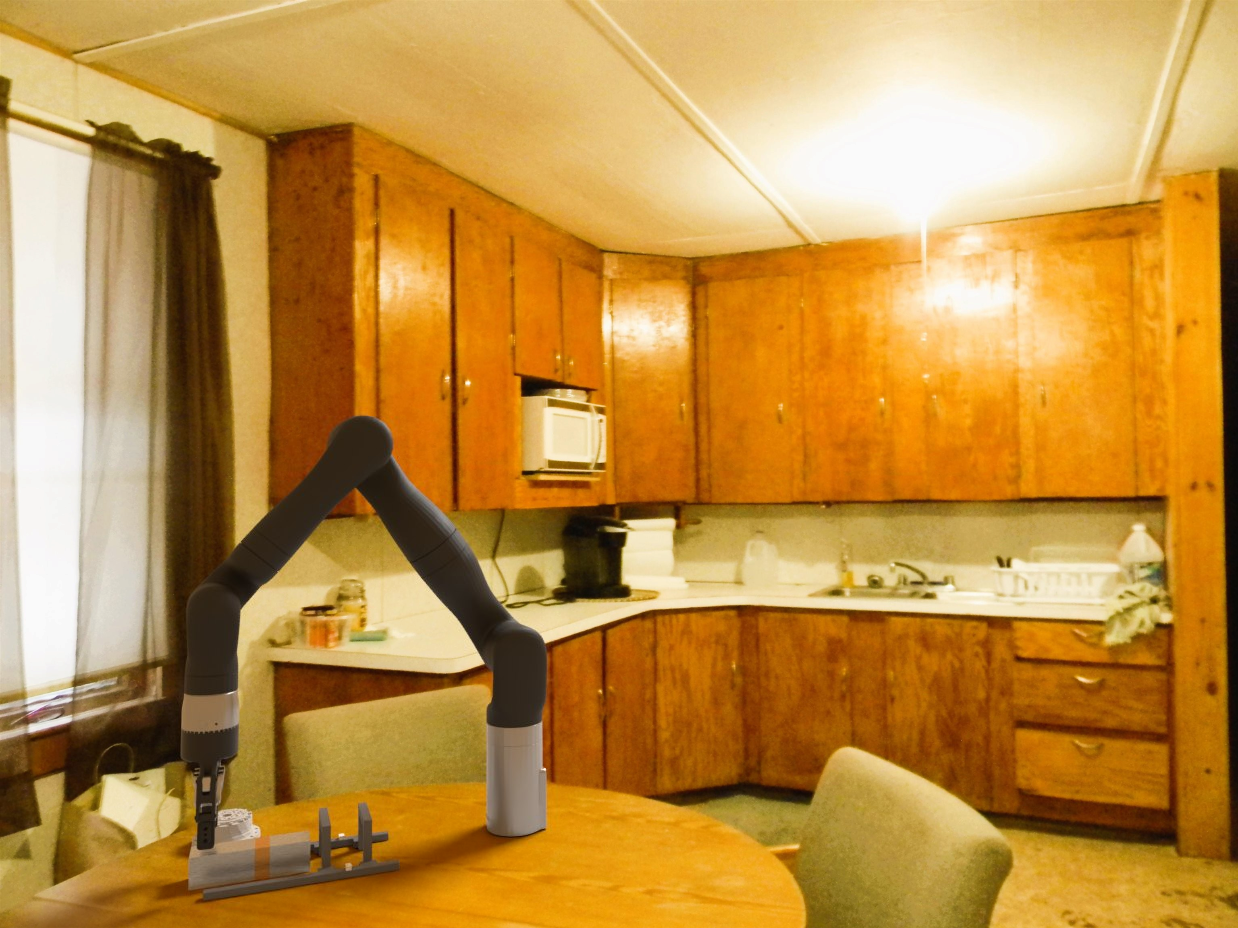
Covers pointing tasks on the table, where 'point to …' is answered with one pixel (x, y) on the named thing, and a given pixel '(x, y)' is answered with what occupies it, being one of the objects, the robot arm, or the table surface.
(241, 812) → the mechanical component
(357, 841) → the collar frame
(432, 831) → the table surface
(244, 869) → the bar
